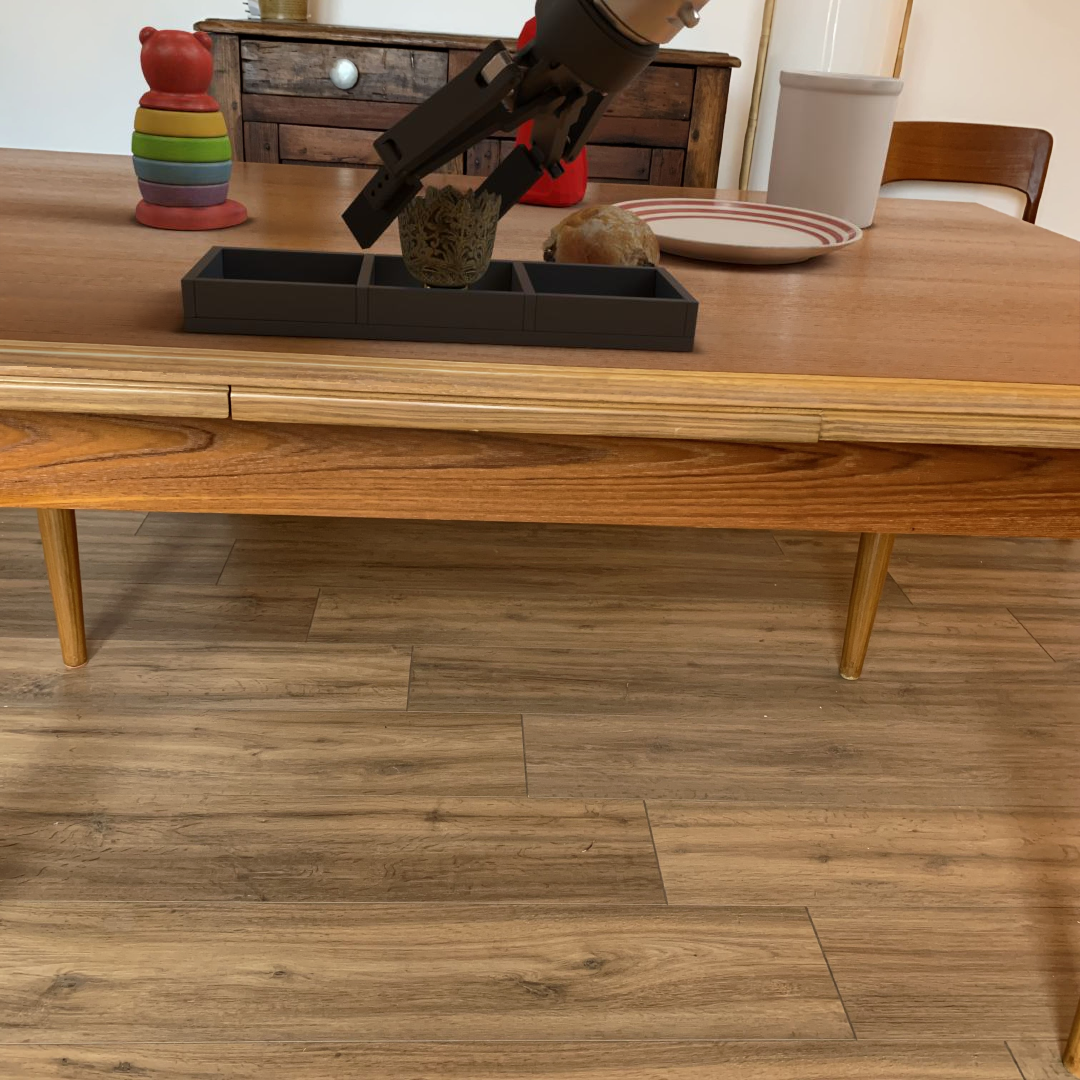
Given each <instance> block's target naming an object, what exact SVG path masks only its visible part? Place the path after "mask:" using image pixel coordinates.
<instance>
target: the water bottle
mask: <svg viewBox="0 0 1080 1080" xmlns="http://www.w3.org/2000/svg"><path fill="white" fill-rule="evenodd" d="M535 34H536V17H535V15H533V16H532V17H531V18H530V19H528V20H527V21H525V22H524V24H523V26H522V29H521V31H520V33H519V35H518V37H517V42H516V51H517V50H519V49H521V48H522V47H523V46H525V45H526V44H527V43H528V42H529V41H530V40H531V39H533V38H534V37H535ZM516 51H515V52H516ZM533 120H534V119H532V120H529V121H527V122H526V123H524V124H522V125H521V126H519V127H518V131H517V135H516V139H515V142H514V147H513V149H514V148H515V147H516V146H517V145H518V144H525V145H526V147H527V148H528V150H530V149H531V146H530V145H529V139H530V134H531V129H532V125H533ZM568 138H569V137H568ZM569 140H570V139H569ZM560 163H561V165H562V166H563V168H564V169H565V172H564V173H563V174H562V175H561V176H560V177H558V178H557V179H554V180H552V179H551V177H550V176H549V174H548V173H547V171H546V170H545V169H544V170H543V171H542V172H543V173H544V175H543V176H542V177H541V178H540V179H539V180H538V181H537V182H536V183H535V184H534V185H533V186H532V187H531V188H530V189H529V190H528V191H527V192H526V193H525V194H524V195H523V196H522V197H521V198H520V199H519V200H518V202H517V203H523V204H529V205H537V206H538V205H539V206H548V207H559V208H564V207H570V206H572V205H575V204H578V203H580V202H583V200H584V198H585V196H586V191H587V189H588V188H587V187H588V175H589V174H588V173H589V165H588V164H589V163H588V155H587V148H586V145H585V146H584V147H583V149H582V151H581V152H580V154H579V156H578V157H577V158H576V160H575V161H573V162H572V163H569V164H565V162H564V161H563V159H561V160H560Z"/></svg>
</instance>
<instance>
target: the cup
mask: <svg viewBox="0 0 1080 1080" xmlns="http://www.w3.org/2000/svg"><path fill="white" fill-rule="evenodd" d="M500 205H501V194H500V195H499V196H498V197H497V196H496V194H495V193H494V192H493V194H490V195H489V196H488V192H487V190H486V189H485V190H484V191H483V192H482V194H481V195H480V196H479V197H478V198H477V200H476V198H475V194H474V190H473V188H472V187H469V188H468V189H467V191H466V193H464V194H463V193H462V192H461V191H460V190H459V189H456V187H454V186H453V185H452V184H451V183H450V184H446V185H444V186H443V187H442V188H439V189H438V188H437V187H435V186H433V185H430V184H428V185H427V187H426V189H425V195H423V196H422V195H416V196H415V197H414V198H413V199H412V200H411V202H410V203H409V204H408V205H407V206H406V207H405V208H404V210H403V211H402V212H401V213H400V214H399V215H398V216H397V224H398V225H397V226H398V235H399V243H400V244H399V245H400V250H401V255H403V259H404V262H405V265H406V267H407V269H408V270H409V272H410V273H411V274H412V275H413V276H414V277H415V278H416V279H418V280H419V281H421V282H423V285H422V287H421V288H440V289H463V290H470V288H469V286H468V285H469V284H472V283H474V282H476V281H477V280H479V279H480V278H481V277H482V276H483V275H484V273H485V272H486V270H487V268H488V266H489V263H490V260H491V259H492V256H493V253H494V247H495V241H496V235H497V230H498V224H499V221H498V217H499V211H500Z"/></svg>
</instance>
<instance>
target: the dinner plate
mask: <svg viewBox="0 0 1080 1080" xmlns="http://www.w3.org/2000/svg"><path fill="white" fill-rule="evenodd" d="M611 205H612V206H616V207H619V208H621V209H623V210H625V211H626V210H630V211H633V212H634V213H636V214H637V216H638V217H639V218H640V219H642V220H644V221H645V222H646V223H647V224H648V225H649V226H650V228H651V230H652V231H653V233H654V235H655V236H656V239H657V242H658V245H659V251H661V252H664V253H667V254H671V255H675V256H680V257H684V258H688V259H695V260H701V261H707V262H708V261H709V262H710V261H711V262H716V263H717V262H718V263H725V264H738V265H739V264H741V265H759V266H760V265H761V266H762V265H763V266H764V265H786V264H794V263H800V262H804V261H807V260H809V259H811V258H812V257H813V258H814V257H818V256H822V255H826V254H829V253H833V252H836V251H839V250H842V249H844V248H846V247H849V246H851V245H853V244H855V243H856V242H858V241H859V240H860V239H861V238H862V237H863V235H864V233H863V230H862V228H858V227H857V226H855V225H854V224H852V223H850V222H847V221H845V220H842V219H840V218H837V217H834V216H830V215H826V214H822V213H818V212H813V211H808V210H803V209H797V208H791V207H784V206H777V205H769V204H766V203H759V202H752V201H751V202H750V201H741V200H740V201H739V200H726V199H714V198H713V199H711V198H710V199H709V198H689V197H688V198H686V197H685V198H684V197H674V198H673V197H664V198H643V199H635V200H627V201H622V202H617V203H614V204H611Z"/></svg>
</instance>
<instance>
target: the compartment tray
mask: <svg viewBox="0 0 1080 1080" xmlns="http://www.w3.org/2000/svg"><path fill="white" fill-rule="evenodd" d="M422 285H423V282H421V281H419V280H418V279H416V278H415V277H414V276H413V275H412V274H411V273H410V272H409V270H408V269H407V267H406V265H405V262H404V259H403V255H402V254H389V253H370V252H369V253H368V252H349V251H347V252H346V251H330V250H329V251H328V250H327V251H326V250H309V249H308V250H305V249H284V248H265V247H245V246H242V247H240V246H223V245H212V246H211V247H210V249H208V251H207V252H205V254H204V255H203V256H202V257H201V258H200V259H198V261H197V262H196V263H195V264H194V265H193V266H192V267H191V268H190V269H189V271H188V272H187V273H185V275H184V276H183V277H182V278H181V279H180V286H181V302H182V314H183V328H184V332H185V333H201V334H203V333H204V334H225V335H227V334H229V335H249V336H250V335H254V336H257V335H259V336H278V337H279V336H281V337H307V338H330V339H333V338H334V339H354V340H355V339H356V340H357V339H358V340H380V341H383V340H384V341H404V342H405V341H408V342H429V343H430V342H433V343H455V344H456V343H458V344H460V343H461V344H485V345H486V344H487V345H509V346H510V345H511V346H514V345H515V346H538V347H559V348H560V347H561V348H562V347H563V348H588V349H589V348H590V349H610V350H611V349H613V350H614V349H615V350H637V351H638V350H640V351H641V350H642V351H664V352H667V351H669V352H689V353H690V352H691V353H692V352H693V351H694V345H695V337H696V331H697V330H696V329H697V322H698V314H699V305H700V302H699V301H698V300H697V299H696V298H695V297H694V296H693V295H692V294H691V293H690V292H689V291H688V290H687V288H686V287H684V286H683V285H682V283H681V282H679V281H678V280H677V278H675V277H674V276H673V275H672V274H671V273H670V272H669V271H668V269H666V267H664V266H663V267H662V266H658V267H644V266H623V265H602V264H581V263H560V262H545V261H536V260H515V259H512V260H511V259H493V258H491V260H490V263H489V266H488V268H487V270H486V272H485V273H484V275H483V276H482V277H481V278H480V279H479V280H477V281H476V282H474V283H472V284H469V285H468V286H469V288H470V290H463V289H440V288H421V287H422Z"/></svg>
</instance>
